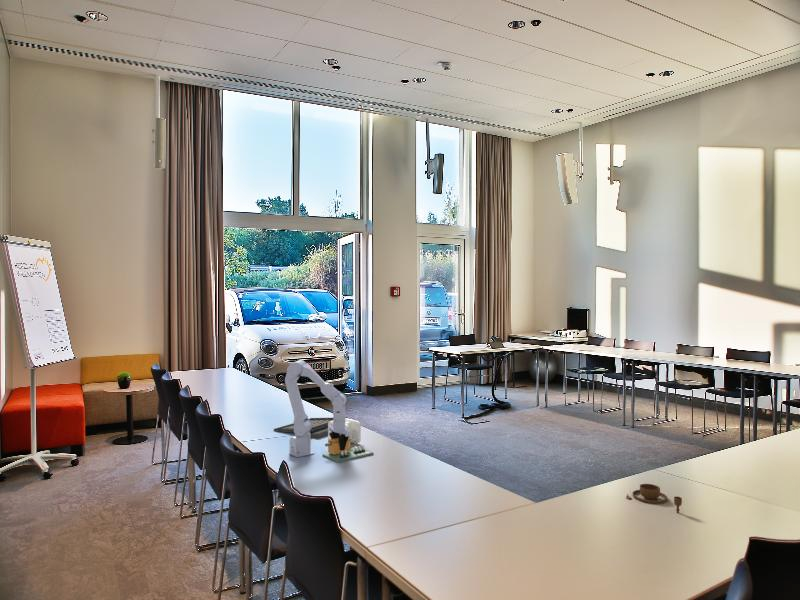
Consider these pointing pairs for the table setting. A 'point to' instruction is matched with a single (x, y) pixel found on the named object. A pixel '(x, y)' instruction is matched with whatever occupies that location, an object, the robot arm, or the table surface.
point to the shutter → (316, 424)
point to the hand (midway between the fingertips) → (339, 448)
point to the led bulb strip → (359, 449)
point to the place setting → (654, 495)
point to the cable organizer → (350, 430)
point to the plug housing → (336, 446)
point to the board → (350, 453)
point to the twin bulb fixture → (344, 455)
